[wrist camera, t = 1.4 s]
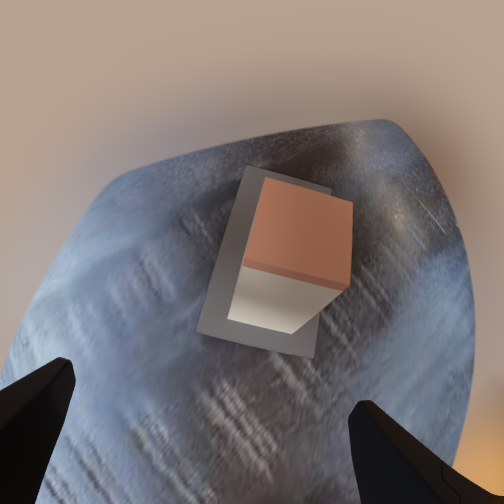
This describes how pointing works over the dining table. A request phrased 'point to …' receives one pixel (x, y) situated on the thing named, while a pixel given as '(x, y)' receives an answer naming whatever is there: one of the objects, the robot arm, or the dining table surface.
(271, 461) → the dining table surface
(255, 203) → the charcoal mat
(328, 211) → the cream block
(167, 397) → the dining table surface
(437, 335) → the dining table surface
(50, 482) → the dining table surface
